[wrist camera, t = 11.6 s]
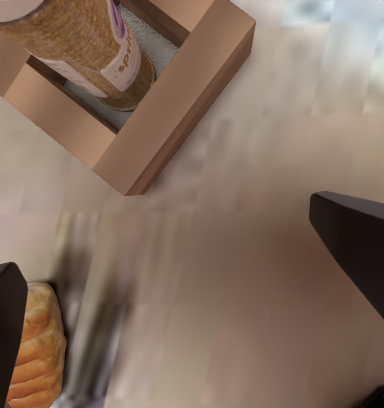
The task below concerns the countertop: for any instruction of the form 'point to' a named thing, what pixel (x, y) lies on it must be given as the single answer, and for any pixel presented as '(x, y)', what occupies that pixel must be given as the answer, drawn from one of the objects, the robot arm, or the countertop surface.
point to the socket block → (152, 102)
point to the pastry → (39, 352)
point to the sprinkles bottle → (83, 46)
